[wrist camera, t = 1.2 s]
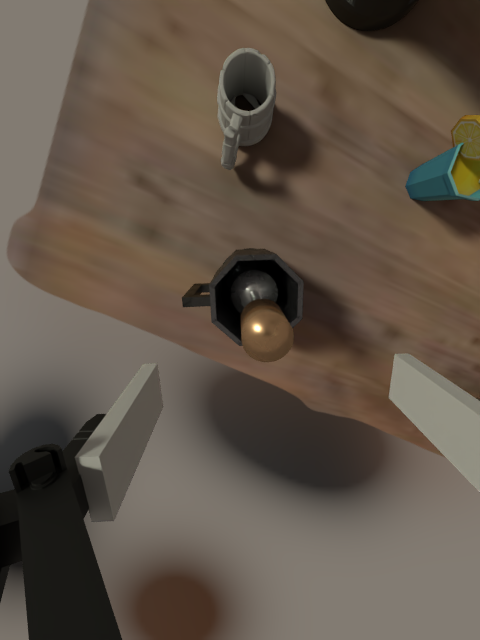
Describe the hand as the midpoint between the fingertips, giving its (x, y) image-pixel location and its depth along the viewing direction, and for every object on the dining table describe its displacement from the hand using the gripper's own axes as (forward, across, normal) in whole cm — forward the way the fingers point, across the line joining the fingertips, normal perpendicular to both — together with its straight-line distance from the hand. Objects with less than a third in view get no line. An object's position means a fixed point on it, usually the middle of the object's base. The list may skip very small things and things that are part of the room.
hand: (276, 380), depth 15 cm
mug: (+33, -1, +22) cm, 40 cm away
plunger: (+23, 0, 0) cm, 23 cm away
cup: (+33, +28, +14) cm, 46 cm away
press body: (+33, -1, 0) cm, 33 cm away
